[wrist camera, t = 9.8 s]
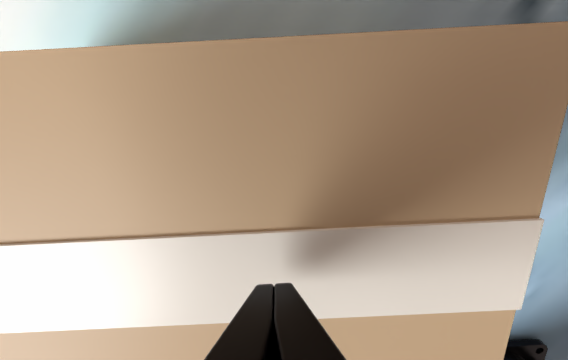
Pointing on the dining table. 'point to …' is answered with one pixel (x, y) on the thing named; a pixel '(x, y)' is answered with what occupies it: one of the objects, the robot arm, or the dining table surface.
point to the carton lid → (276, 189)
